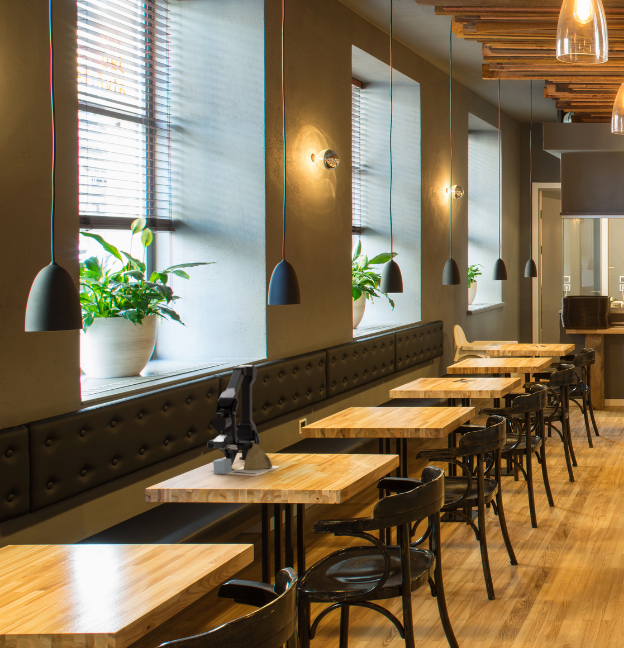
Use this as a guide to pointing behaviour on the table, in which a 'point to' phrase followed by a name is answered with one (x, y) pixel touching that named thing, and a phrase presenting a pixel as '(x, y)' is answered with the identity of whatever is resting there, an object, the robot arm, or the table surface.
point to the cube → (222, 466)
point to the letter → (252, 471)
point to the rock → (256, 459)
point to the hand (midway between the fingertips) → (230, 465)
